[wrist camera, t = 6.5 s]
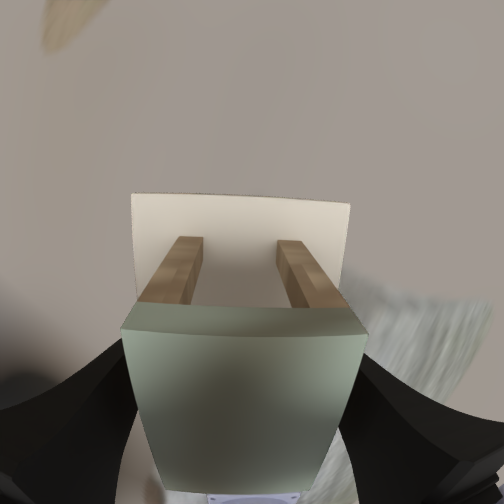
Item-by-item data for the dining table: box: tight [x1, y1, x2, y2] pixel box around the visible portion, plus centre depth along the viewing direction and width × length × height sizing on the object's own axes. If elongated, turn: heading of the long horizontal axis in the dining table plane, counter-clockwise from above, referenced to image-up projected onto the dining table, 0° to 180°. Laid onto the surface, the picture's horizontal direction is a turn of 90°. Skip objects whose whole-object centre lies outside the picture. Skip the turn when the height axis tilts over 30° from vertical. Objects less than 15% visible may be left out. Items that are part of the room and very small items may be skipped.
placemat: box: [131, 193, 350, 308], centre depth 14 cm, size 11×9×1 cm
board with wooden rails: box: [120, 236, 369, 495], centre depth 10 cm, size 5×7×7 cm
